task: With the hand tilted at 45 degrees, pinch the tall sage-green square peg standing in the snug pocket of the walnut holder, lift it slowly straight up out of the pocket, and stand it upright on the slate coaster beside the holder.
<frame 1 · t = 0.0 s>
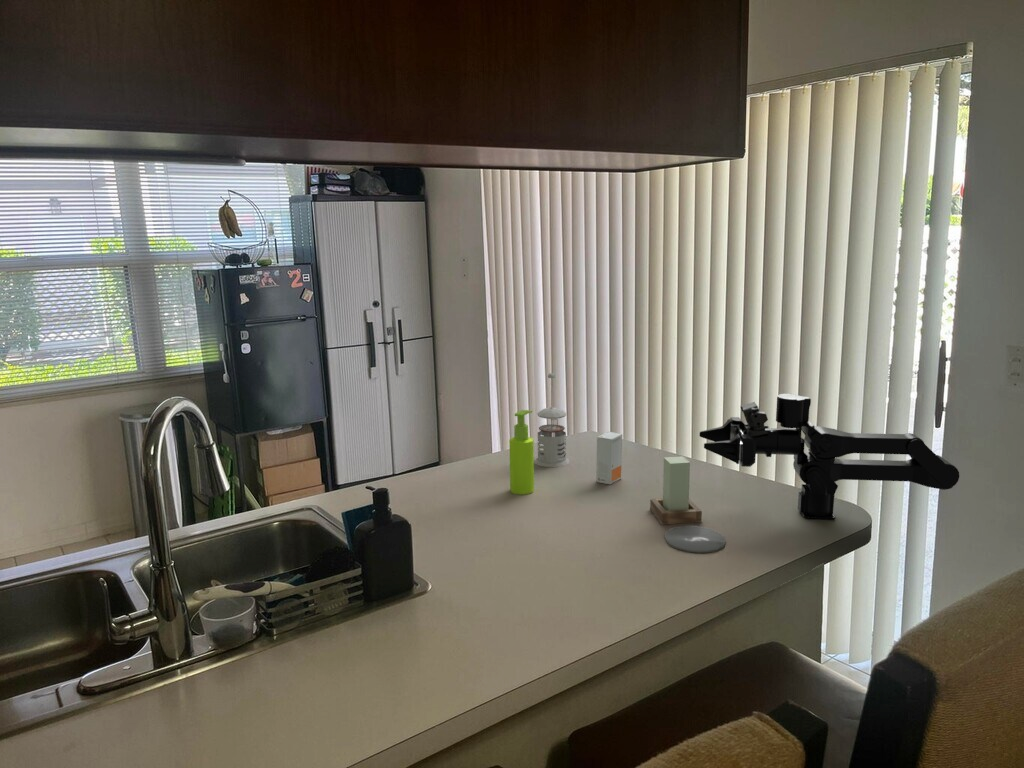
hand: (701, 439, 162), 17 cm above the worktop, tool horizontal, fingers open, 9 cm apart
walnut holder: (675, 515, 162), on the worktop
sage peg: (675, 487, 161), in the walnut holder
soap dispenser: (523, 490, 180), on the worktop
french press: (552, 461, 202), on the worktop
slate coaster: (694, 540, 149), on the worktop
skincare box: (609, 481, 186), on the worktop
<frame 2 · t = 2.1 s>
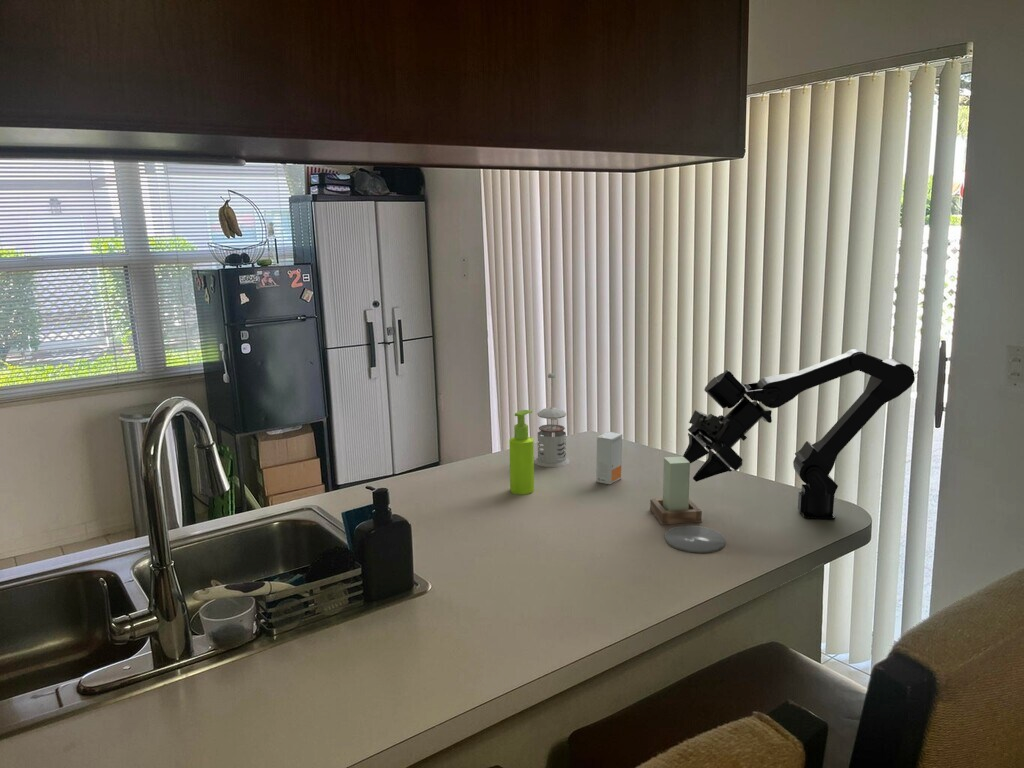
hand: (686, 473, 160), 10 cm above the worktop, tool tilted 45°, fingers open, 9 cm apart
nothing on the worktop moved.
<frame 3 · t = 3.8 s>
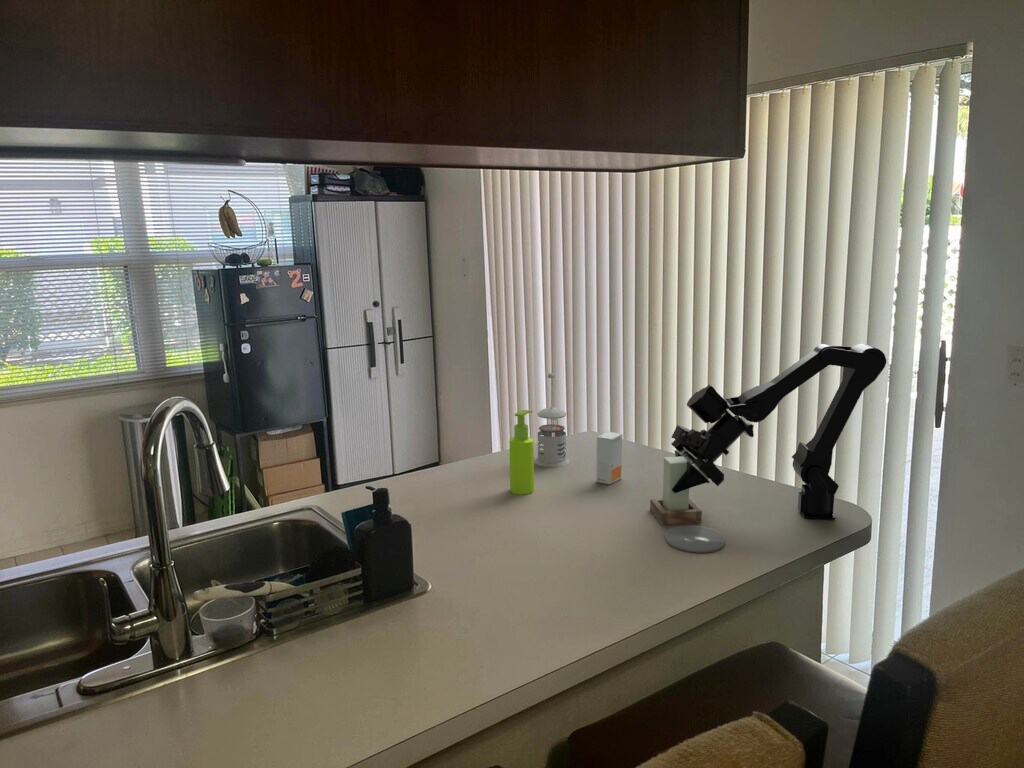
hand: (669, 487, 161), 7 cm above the worktop, tool tilted 45°, fingers closed on sage peg, 4 cm apart
sage peg: (675, 487, 161), in the walnut holder, touching gripper
everything else where it was.
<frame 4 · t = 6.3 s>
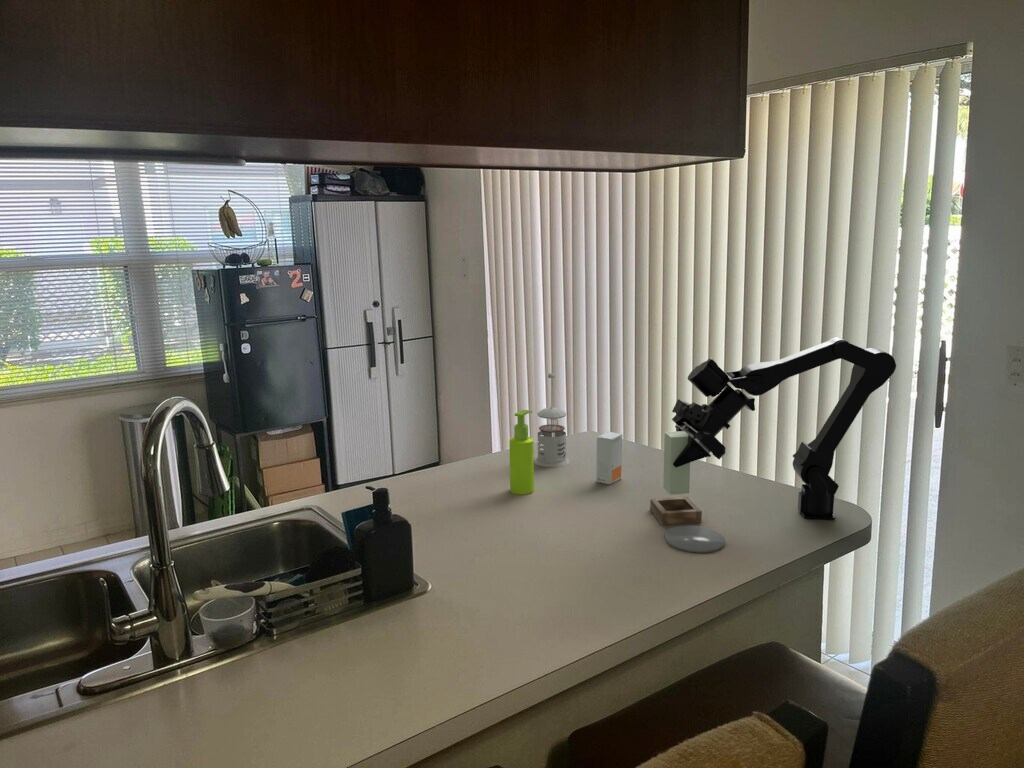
hand: (670, 462, 159), 12 cm above the worktop, tool tilted 45°, fingers closed on sage peg, 4 cm apart
sage peg: (676, 462, 159), point 12 cm above the worktop, touching gripper
everything else where it was.
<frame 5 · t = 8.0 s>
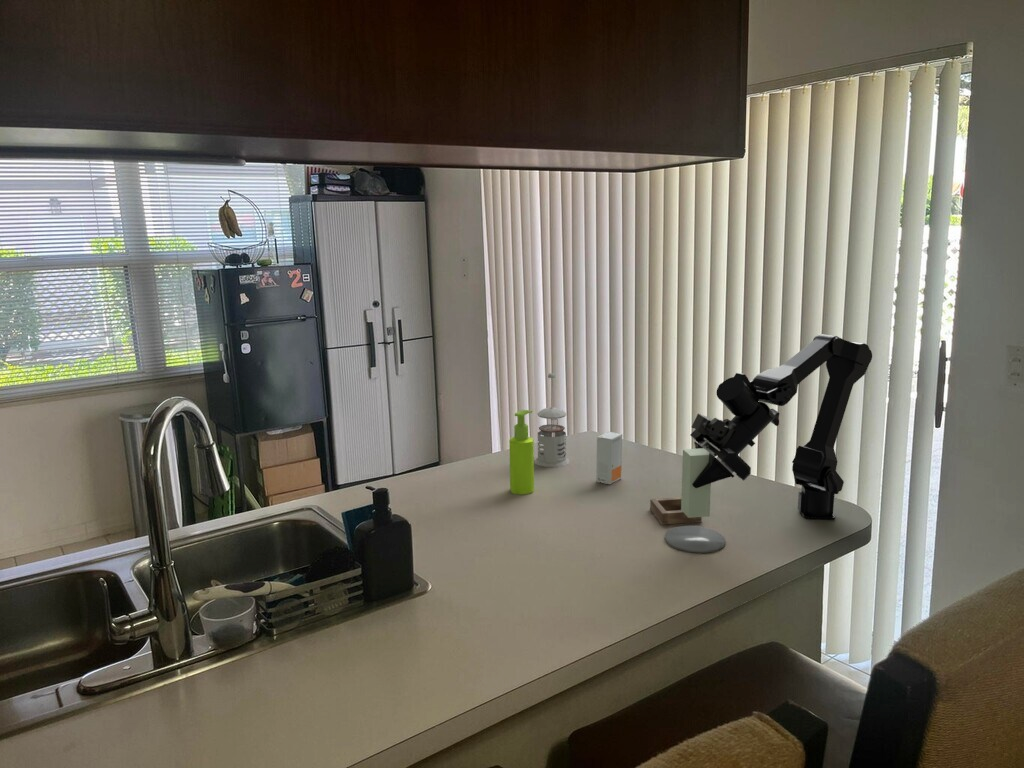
hand: (689, 482, 146), 13 cm above the worktop, tool tilted 45°, fingers closed on sage peg, 4 cm apart
sage peg: (696, 482, 147), point 12 cm above the worktop, touching gripper
everything else where it was.
when the fingers open (8 cm above the worktop, at t = 9.2 s): sage peg moves 1 cm, resting on slate coaster.
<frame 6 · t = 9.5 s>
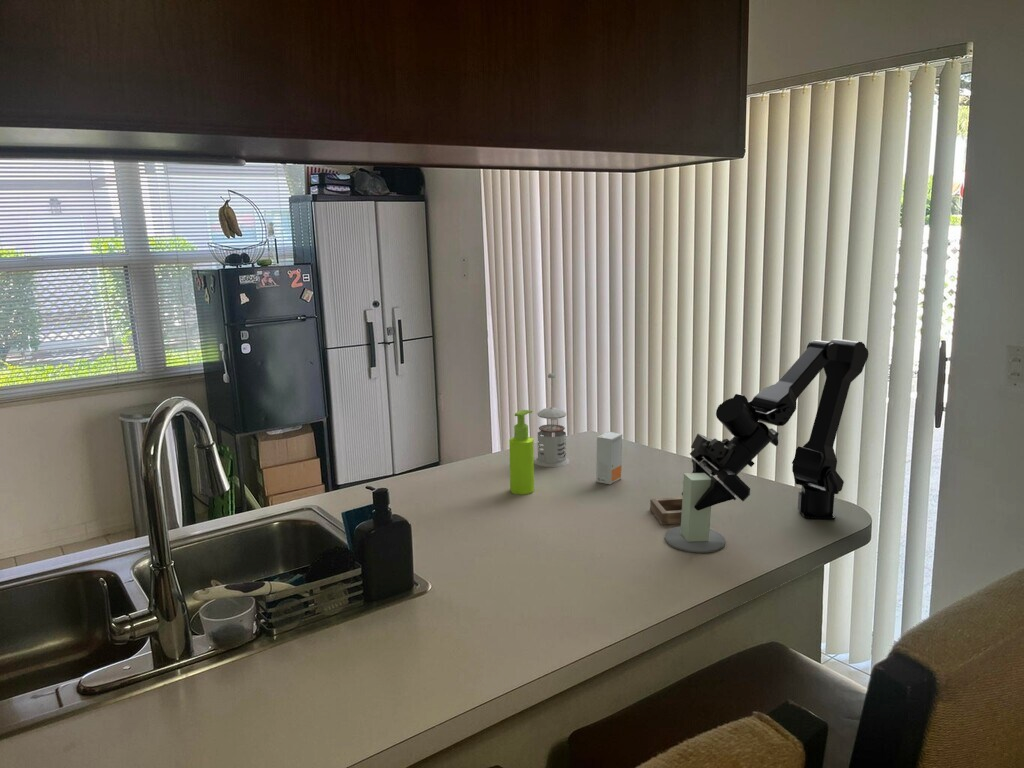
hand: (689, 502, 147), 8 cm above the worktop, tool tilted 45°, fingers open, 7 cm apart
sage peg: (696, 507, 148), on the slate coaster, point 7 cm above the worktop
everything else where it was.
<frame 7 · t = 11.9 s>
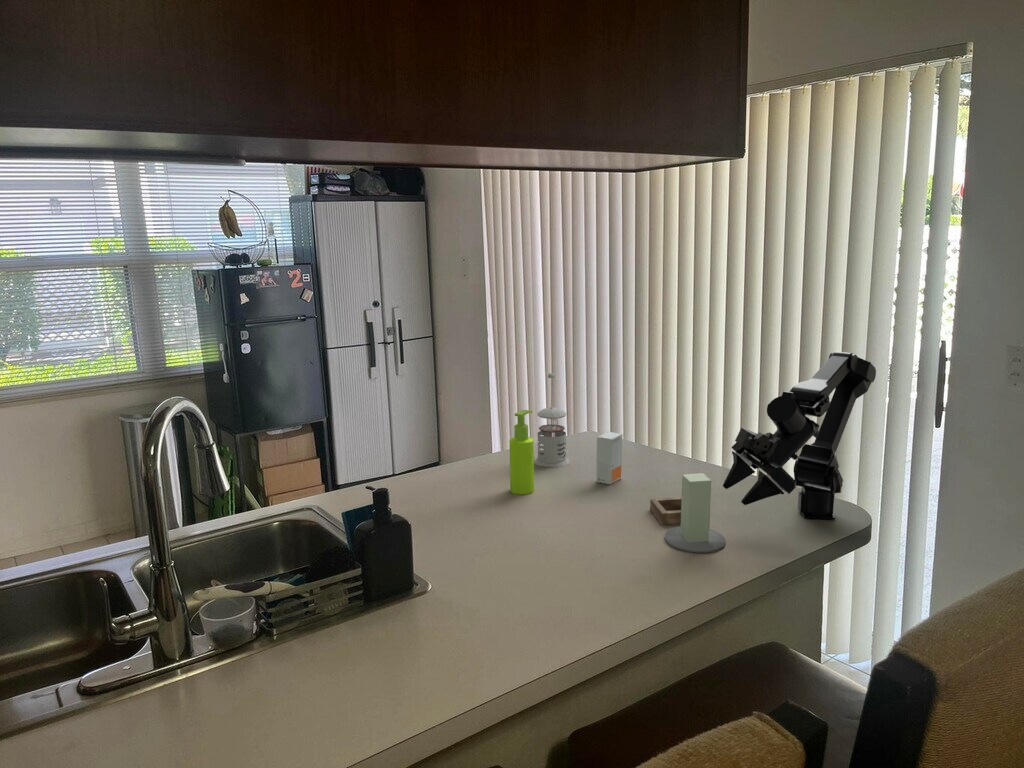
hand: (733, 495, 149), 9 cm above the worktop, tool tilted 45°, fingers open, 9 cm apart
nothing on the worktop moved.
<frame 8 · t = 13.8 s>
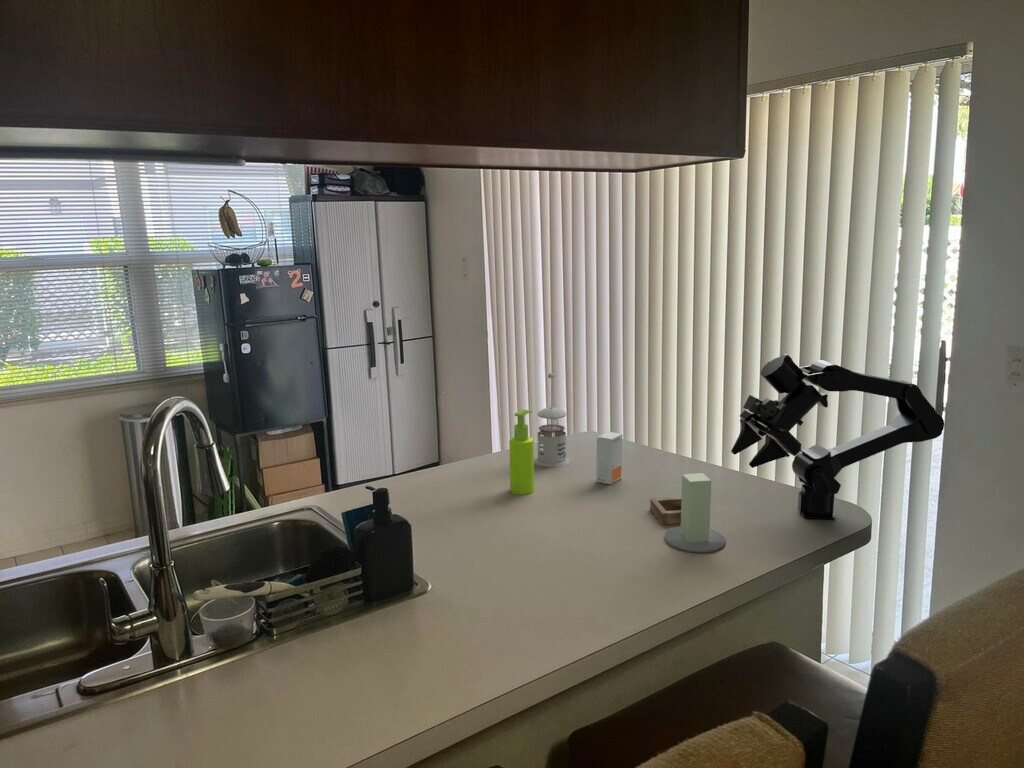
hand: (741, 459, 157), 14 cm above the worktop, tool tilted 45°, fingers open, 9 cm apart
nothing on the worktop moved.
at the end: sage peg inside the target area on the slate coaster (0.0 cm from its centre), point 7.1 cm above the slate coaster's base; sage peg tilted 0°; the gripper is holding nothing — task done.
